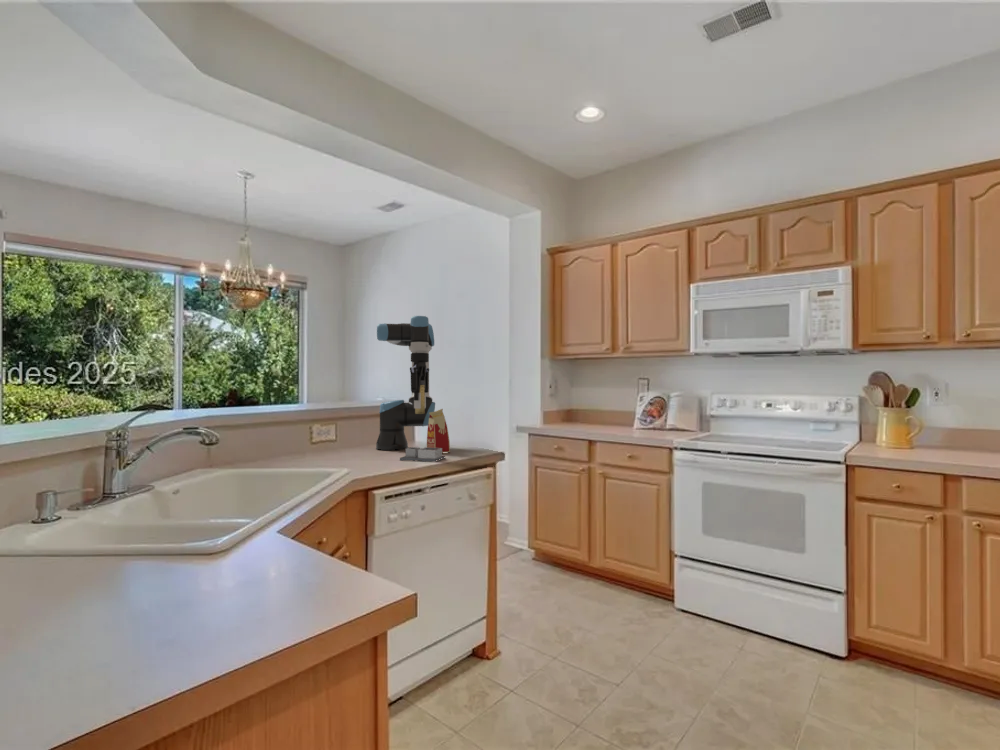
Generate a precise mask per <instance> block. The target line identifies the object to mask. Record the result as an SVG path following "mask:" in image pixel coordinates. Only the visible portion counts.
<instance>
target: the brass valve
mask: <svg viewBox="0 0 1000 750" xmlns="http://www.w3.org/2000/svg"><path fill="white" fill-rule="evenodd" d="M419 393H421V408H415V414H425V380H421V381H420V392H419Z"/></svg>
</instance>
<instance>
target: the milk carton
mask: <svg viewBox="0 0 1000 750" xmlns="http://www.w3.org/2000/svg"><path fill="white" fill-rule="evenodd" d="M429 414H430V416H429V423H428V426H427V429H426V430H427V432H426V434H427V435H426V447H430V448H442V453H443V452H450V453H451V444H450V436H449V429H448V424H447V421H446V418H445V417H446V416H445V415H444V412H443V408H440V409H438V410H435V411H434V412H430V413H429ZM443 454H444V453H443Z"/></svg>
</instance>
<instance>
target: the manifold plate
mask: <svg viewBox="0 0 1000 750" xmlns="http://www.w3.org/2000/svg"><path fill="white" fill-rule="evenodd" d="M444 457H445V458H446V455H443V454H442V448H430V447H427V446H425V447H423V448H421V447H416V446H415V447H413V446H412V447H408V448H406V449H405V455H404V456H402V457H399V461H403V460H422V461H421V462H426V461H436V460H439V459H441V458H444ZM445 458H444V459H445ZM439 461H440V460H439Z"/></svg>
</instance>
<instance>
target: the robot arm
mask: <svg viewBox="0 0 1000 750" xmlns="http://www.w3.org/2000/svg"><path fill="white" fill-rule="evenodd" d="M376 337H377V339H376V340H378V341H381V342H387V343H389V344H392V345H394V346H395V345H396V346H400V347H401V346H402V347H408V350H409V351H410V352H411V353H410V362H411V366H410V367H409V373H410V391H411V396H410V397H409V398H408V402H405V400H404V399H397V400H388V401H384V402H382V403H380V404H379V434H378V438H377V441H376V443H375V449H376V450H378V449H381V450H380V451H396V450H395V449H401V450H406V449H405V448H409V444H408V443H409V442H408V440H407V437H406V433H405V427H428V423H429V416H430V414H429V413H430V412H435V411H436V410H435V409H436V402H435V401H433V398H432V397H431V396H430V352H431V350H432V349H433V348H432V347H434V346H435V337H434V329H433V326H432V324H430V323H429V317H428V316H426V315H425V316H424V315H414V316H411V317H410V323H402V322H401V323H378V324H377V325H376ZM421 380H425V414H415V408H421V393H419V392H420V381H421Z"/></svg>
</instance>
